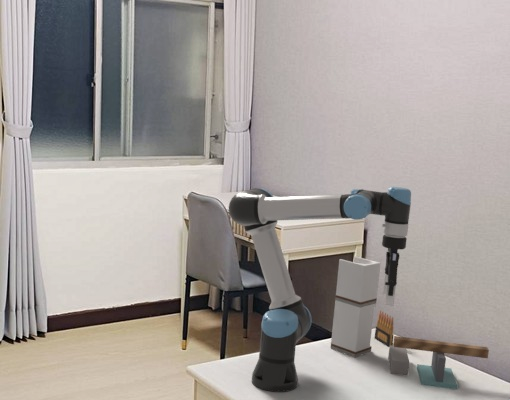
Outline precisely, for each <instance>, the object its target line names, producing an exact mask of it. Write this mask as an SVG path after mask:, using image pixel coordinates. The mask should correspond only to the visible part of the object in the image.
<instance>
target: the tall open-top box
mask: <svg viewBox="0 0 510 400" xmlns="http://www.w3.org/2000/svg"><path fill="white" fill-rule="evenodd" d="M353 258H354V259H353V261H350V260H345V259H342V258H340V259H339V261H338V268H337V269H338V270H337V281H336V288H335V289H336V291H335V299H334V301H335V302H334V310H333V311H334V312H333V317H332V318H333V320H332V331H331V338H330V339H331V341H330V349H331V350H334V351H337V352H339V353H342V354H344V353H345V355H347V356H349V357H350V356H351V357H353V358H357V357H360V356H363V355H366V354H368V353H371V352H372V346H371V341H372V329H373V320H374V311H375V308H376V307H377V301H378V300H377V299H378V290H379V289H378V288H379V281H380V273H381V272H380V271H381V262H380V261H379V262H378V261H375V260H371V259H366V258H363V257H359V256H354V257H353Z"/></svg>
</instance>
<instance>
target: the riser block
mask: <svg viewBox="0 0 510 400" xmlns="http://www.w3.org/2000/svg"><path fill="white" fill-rule="evenodd" d="M387 355H388V357H387V360H388V366H389V371H390V373H389V374H392V375H398V376H406V377H408V376H409V370H410V359H409V355H408V351H407V348H398V347H394V345H393V346H391V345H390V346H389V347H388V354H387Z"/></svg>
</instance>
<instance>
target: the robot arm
mask: <svg viewBox="0 0 510 400" xmlns="http://www.w3.org/2000/svg"><path fill="white" fill-rule="evenodd" d="M411 201H412V191H411V189H409V188H406V187H397V186H390V187H388V188H387V191H385V192H384V191H373V190H368V189H367V190H366V189H363V188H362V189H358V188H357V189H356V188H355V189H352V190H351V191H350V193H348V194H326V195H324V194H323V195H298V196H297V195H296V196H295V195H294V196H273V194H272V193H271V192H269V190H266V189H263V188H258V187H256V188H251V189H248V190H244V191H243V190H242V191H239V192H238V193H236V194H235V195H233V197H231V199H230V201H229V204H228V213H229V216H230V218H231V219H232V221H233V222H235V223H236V224H237V225H240V226H243V228H244V231H245V233H246V234H249V235H250V236H251V240H252V242H253V245H254V246H253V247H254V248H255V252H256V255H257V258H258V262H259V264H260V267H261V272H262V275H263V277H264V280H265V281H264V282H265V284H266V288H267V290H268V294H269V297H270V298H269V299H270V300H271V302H270V305H269V307H268V309H269V310H268V311H266V312H265V313H264V314H263V316H262V321H261V324H260V326H261V331H260V341H259V353H258V356H259V357H258V360H257V362H256V365H255V366H254V369H253V371H252V374H251V383H252V384H253V385H254V386H255V387H257V388H259V389H261V390H265V391H270V392H279V393H280V392H282V393H283V392H289V391H292V390H295V389H296V388H297V387H298V384H299V383H298V382H299V376H298V372H297V369H296V368H297V367H296V363H295V358H296V357H295V356H296V348H297V346H296V345H297V343H298V342H299V341H301V339H302V338H304V337H305V336H306V335H307V334H308V332H309V331H310V329H311V326H312V315H311V312H310V310H309V308H307V307H306V306H305V304H304V303H303V299H302V297H301V296H299V295H297V294H296V291H295V288H294V286H293V285H294V284H293V282H292V280H291V276H290V272H289V269H288V266H287V263H286V260H285V257H284V253H283V249H282V247H281V244H280V239H279V238H278V233H277V231H276V226H277V225H278V221H300V220H301V221H302V220H304V221H305V220H332V219H333V220H337V219H345V220H347V219H352V220H357V221H358V220H362V219H365V218H367V217H368V216H369V215H374V216H375V215H376V216H384V223H382V225H381V226H382V228H383V233H384V234H383V235H382V242H381V246H382V247H383V248H386V249H387V251H386V253H385V255H386V256H385V257H386V258H385V268H384V277H383V287H382V289H383V290H382V295H385V299H384V305H385V306H394V303H395V297H396V296H395V295H396V286H397V283H398V282H397V278H398V277H397V276H398V267H399V260H400V252H398V250H404V249H406V247H407V236H408V231H409V221H410V220H409V219H410V213H411V205H412V202H411Z"/></svg>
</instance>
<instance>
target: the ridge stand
mask: <svg viewBox="0 0 510 400" xmlns="http://www.w3.org/2000/svg"><path fill="white" fill-rule="evenodd" d="M446 361H447V358H446V356H445V353H439V352H432V359H431V365H427V364H426V365H425V364H417V365H416V369H417V373H418V377H419V381H420V385H422V386H426V387H427V386H428V387H435V388H442V389H452V390H458V388H459V387H458V386H459V385H458V382H457V380H456V378H455V375H454V372H453V370H452V368H450V367H446Z"/></svg>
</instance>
